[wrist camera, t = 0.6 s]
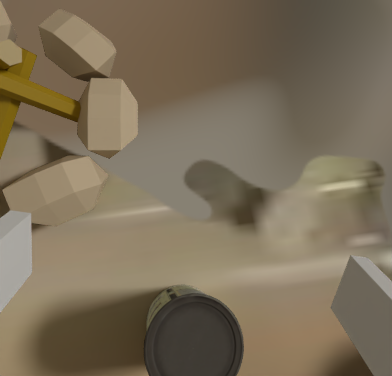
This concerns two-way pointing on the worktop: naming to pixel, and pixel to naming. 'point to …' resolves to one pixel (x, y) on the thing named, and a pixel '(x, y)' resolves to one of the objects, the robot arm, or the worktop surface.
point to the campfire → (65, 115)
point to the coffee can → (191, 335)
